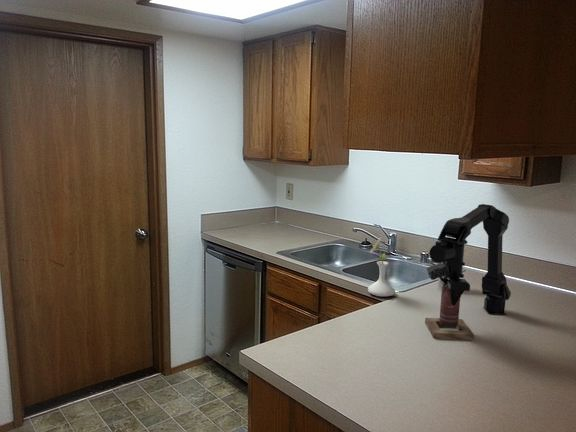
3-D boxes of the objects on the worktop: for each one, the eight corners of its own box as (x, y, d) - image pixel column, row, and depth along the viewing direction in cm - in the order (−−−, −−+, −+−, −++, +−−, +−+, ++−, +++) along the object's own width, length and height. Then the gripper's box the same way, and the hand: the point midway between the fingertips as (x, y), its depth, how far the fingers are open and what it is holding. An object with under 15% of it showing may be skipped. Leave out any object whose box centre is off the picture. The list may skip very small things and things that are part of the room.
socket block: (461, 324, 165) (462, 319, 165) (473, 340, 153) (474, 334, 152) (424, 322, 166) (425, 317, 166) (433, 338, 154) (433, 332, 153)
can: (460, 328, 156) (463, 288, 153) (440, 326, 157) (443, 287, 154) (457, 321, 161) (460, 283, 159) (438, 319, 163) (441, 281, 160)
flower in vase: (377, 288, 204) (380, 232, 199) (400, 294, 196) (403, 237, 191) (359, 294, 195) (362, 236, 190) (382, 302, 187) (386, 241, 182)
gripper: (423, 250, 165) (421, 292, 168) (436, 264, 146) (433, 311, 149) (455, 251, 164) (452, 293, 167) (472, 265, 146) (468, 312, 148)
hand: (450, 302), depth 158 cm, fingers closed on can, 5 cm apart
